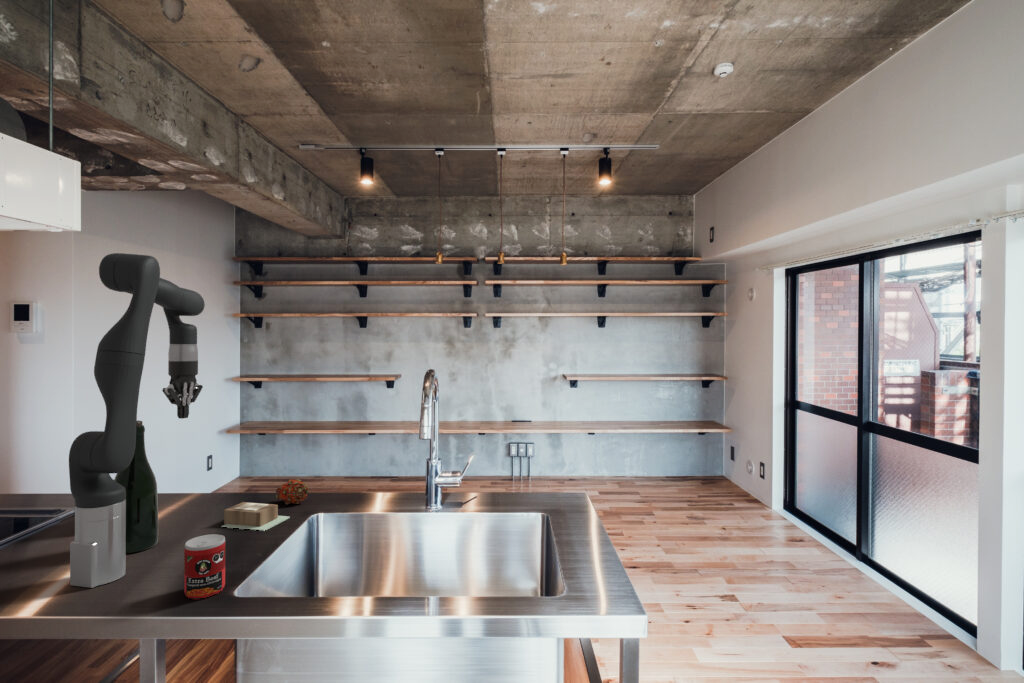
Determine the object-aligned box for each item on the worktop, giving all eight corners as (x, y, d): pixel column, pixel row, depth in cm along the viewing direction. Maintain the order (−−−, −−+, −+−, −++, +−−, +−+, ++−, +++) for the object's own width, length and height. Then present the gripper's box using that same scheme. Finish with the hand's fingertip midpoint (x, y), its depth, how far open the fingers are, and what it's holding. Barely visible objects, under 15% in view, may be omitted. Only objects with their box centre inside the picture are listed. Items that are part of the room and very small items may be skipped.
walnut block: (224, 523, 160) (260, 526, 157) (224, 508, 160) (260, 511, 157) (243, 515, 167) (277, 517, 165) (243, 501, 167) (277, 503, 165)
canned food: (181, 603, 112) (181, 549, 112) (187, 586, 120) (187, 536, 120) (223, 596, 115) (223, 544, 115) (226, 580, 123) (226, 532, 123)
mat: (264, 531, 155) (264, 529, 155) (221, 527, 158) (221, 526, 158) (289, 517, 166) (289, 516, 166) (249, 514, 169) (249, 513, 169)
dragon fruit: (307, 510, 179) (278, 512, 182) (319, 489, 185) (290, 491, 189) (294, 493, 174) (264, 495, 178) (307, 472, 181) (277, 475, 185)
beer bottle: (142, 554, 137) (143, 423, 137) (99, 555, 137) (99, 424, 137) (166, 539, 148) (167, 417, 148) (126, 540, 147) (126, 418, 147)
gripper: (175, 360, 154) (175, 421, 154) (211, 358, 167) (210, 415, 167) (153, 360, 156) (153, 420, 156) (190, 358, 169) (190, 414, 169)
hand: (183, 418), depth 161 cm, fingers closed
